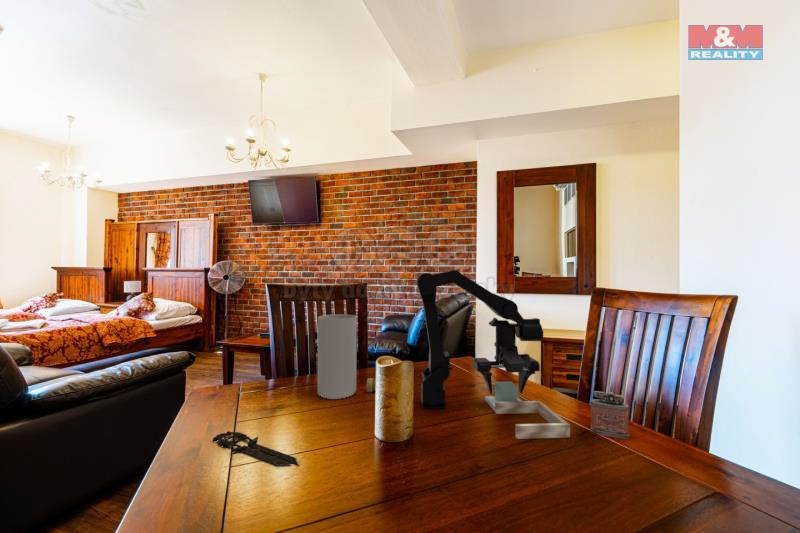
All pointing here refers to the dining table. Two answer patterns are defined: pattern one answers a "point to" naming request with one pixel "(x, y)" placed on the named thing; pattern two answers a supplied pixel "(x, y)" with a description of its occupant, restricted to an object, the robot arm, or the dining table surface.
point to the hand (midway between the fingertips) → (505, 393)
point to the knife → (257, 448)
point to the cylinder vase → (337, 356)
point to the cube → (506, 391)
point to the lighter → (609, 415)
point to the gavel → (370, 385)
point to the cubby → (527, 431)
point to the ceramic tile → (493, 401)
